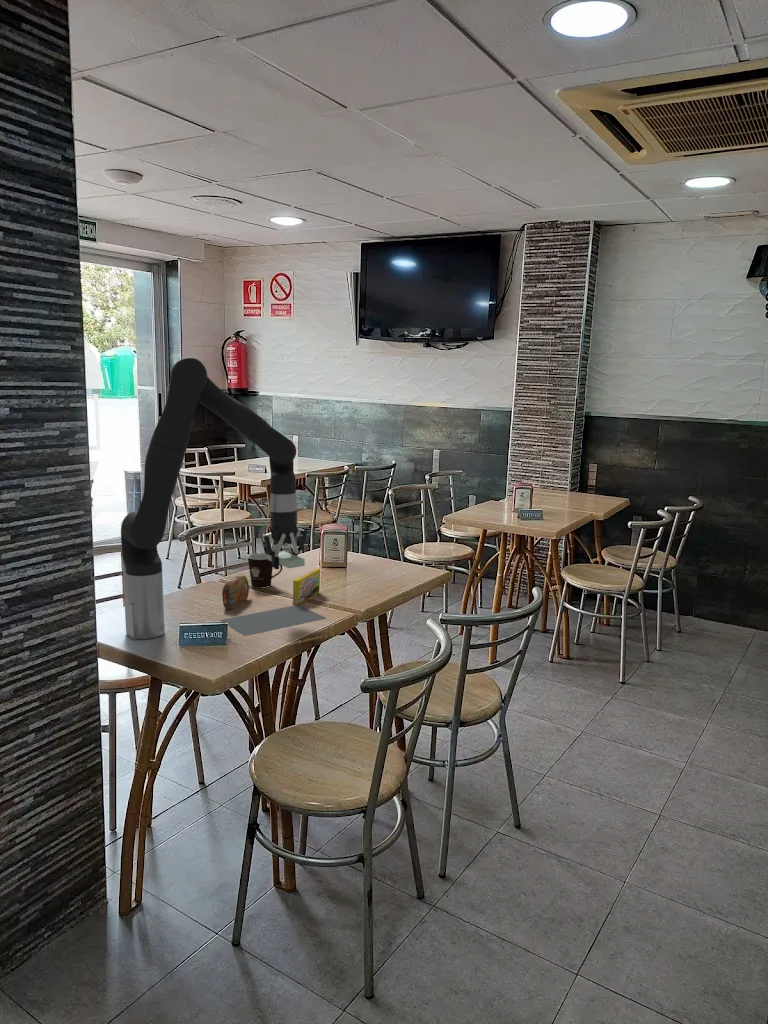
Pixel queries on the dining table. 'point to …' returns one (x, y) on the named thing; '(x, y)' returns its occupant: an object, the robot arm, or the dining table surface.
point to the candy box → (306, 586)
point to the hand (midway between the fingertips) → (284, 567)
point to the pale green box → (289, 560)
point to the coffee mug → (261, 570)
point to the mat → (272, 619)
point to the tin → (235, 592)
